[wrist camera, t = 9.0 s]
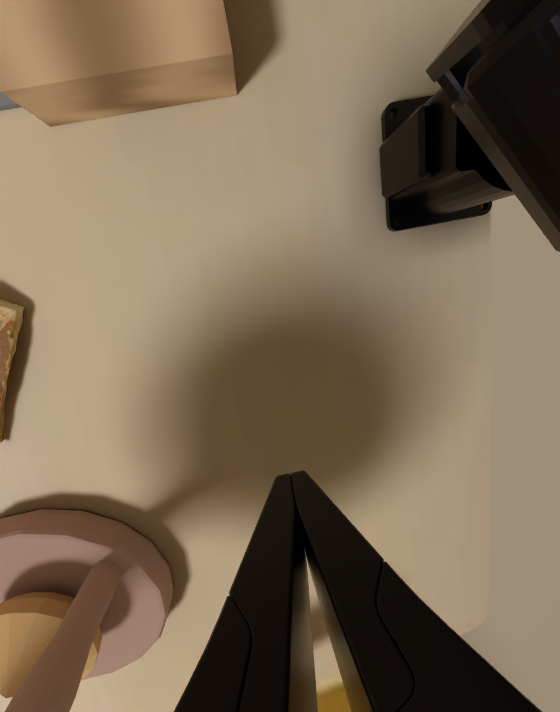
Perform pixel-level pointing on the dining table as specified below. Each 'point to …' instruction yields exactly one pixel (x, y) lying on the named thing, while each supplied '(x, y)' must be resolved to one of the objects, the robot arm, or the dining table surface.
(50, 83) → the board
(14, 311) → the shard
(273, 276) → the dining table surface
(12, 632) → the hourglass
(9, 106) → the mat
